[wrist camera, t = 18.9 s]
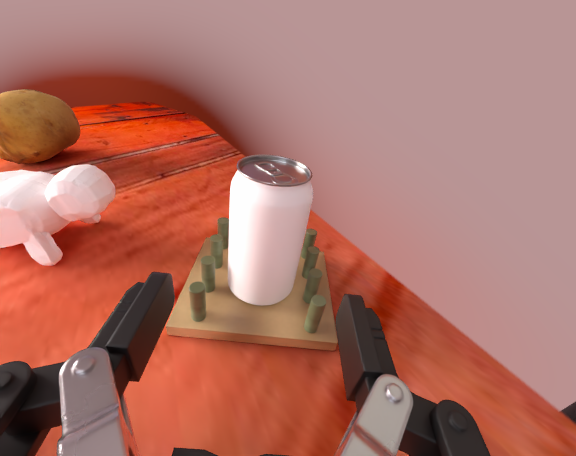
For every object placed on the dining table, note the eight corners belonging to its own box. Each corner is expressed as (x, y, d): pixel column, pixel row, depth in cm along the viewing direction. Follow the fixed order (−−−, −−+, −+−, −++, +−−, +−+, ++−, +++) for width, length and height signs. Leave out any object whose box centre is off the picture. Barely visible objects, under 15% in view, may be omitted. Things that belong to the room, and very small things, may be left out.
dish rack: (321, 259, 33) (330, 227, 30) (334, 351, 23) (349, 316, 20) (206, 245, 32) (205, 211, 29) (167, 335, 22) (160, 296, 19)
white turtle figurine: (-23, 283, 26) (114, 252, 25) (-115, 212, 22) (47, 169, 20) (39, 233, 34) (149, 207, 32) (-19, 171, 29) (106, 137, 27)
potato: (-22, 166, 39) (-62, 90, 33) (42, 141, 49) (20, 80, 44) (52, 175, 40) (26, 103, 34) (100, 148, 50) (86, 90, 45)
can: (247, 320, 23) (260, 194, 16) (216, 272, 27) (215, 156, 20) (306, 292, 26) (335, 180, 20) (270, 253, 30) (285, 150, 24)
